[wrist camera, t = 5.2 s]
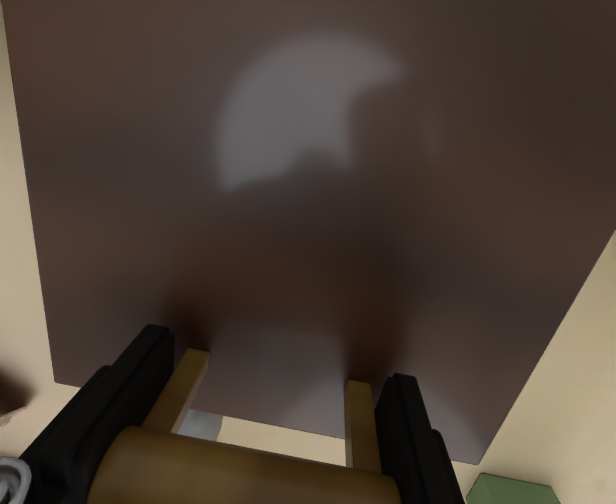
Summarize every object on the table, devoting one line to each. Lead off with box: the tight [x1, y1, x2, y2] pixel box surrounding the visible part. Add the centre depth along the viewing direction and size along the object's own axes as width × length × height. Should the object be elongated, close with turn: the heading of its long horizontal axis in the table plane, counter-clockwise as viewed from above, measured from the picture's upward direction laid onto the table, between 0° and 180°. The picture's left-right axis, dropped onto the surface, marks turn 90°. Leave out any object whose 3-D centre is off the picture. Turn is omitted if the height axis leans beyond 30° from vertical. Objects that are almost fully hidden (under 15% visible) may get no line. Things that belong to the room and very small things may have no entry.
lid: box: [1, 0, 616, 504], centre depth 7 cm, size 14×15×5 cm
